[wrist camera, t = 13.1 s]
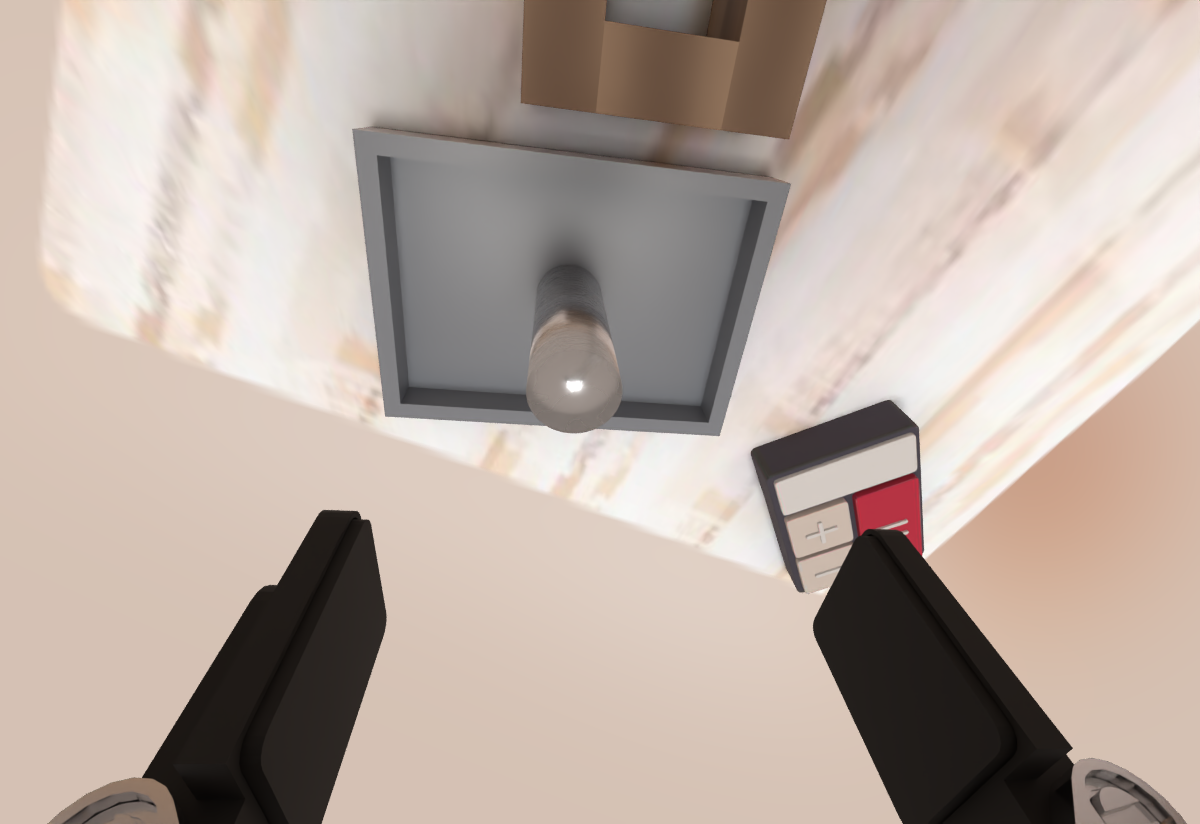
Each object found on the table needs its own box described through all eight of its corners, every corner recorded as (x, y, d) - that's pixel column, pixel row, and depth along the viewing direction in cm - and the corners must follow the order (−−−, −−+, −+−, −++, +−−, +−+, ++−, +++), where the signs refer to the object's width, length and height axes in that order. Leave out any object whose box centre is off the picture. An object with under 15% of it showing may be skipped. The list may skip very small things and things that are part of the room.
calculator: (802, 602, 44) (769, 485, 36) (782, 562, 48) (748, 448, 40) (930, 561, 43) (926, 430, 35) (900, 523, 46) (890, 396, 38)
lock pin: (605, 268, 30) (629, 353, 20) (597, 330, 33) (615, 435, 22) (538, 261, 30) (528, 345, 20) (534, 324, 32) (524, 430, 22)
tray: (770, 176, 29) (790, 183, 27) (708, 413, 37) (719, 436, 35) (371, 126, 27) (352, 129, 24) (397, 393, 35) (385, 416, 32)
